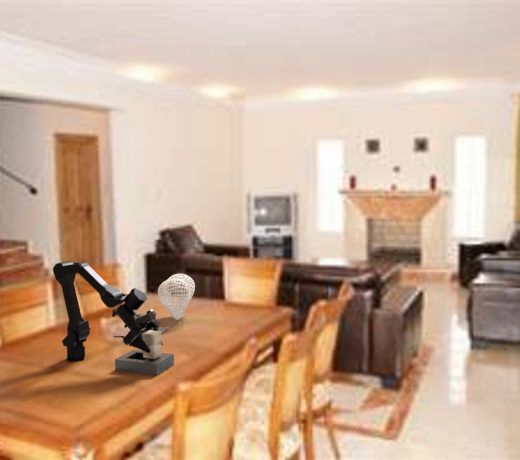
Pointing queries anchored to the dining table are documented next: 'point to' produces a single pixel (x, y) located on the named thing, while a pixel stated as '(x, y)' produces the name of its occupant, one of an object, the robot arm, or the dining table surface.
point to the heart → (165, 294)
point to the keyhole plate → (143, 363)
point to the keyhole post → (152, 344)
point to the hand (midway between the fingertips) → (155, 348)
